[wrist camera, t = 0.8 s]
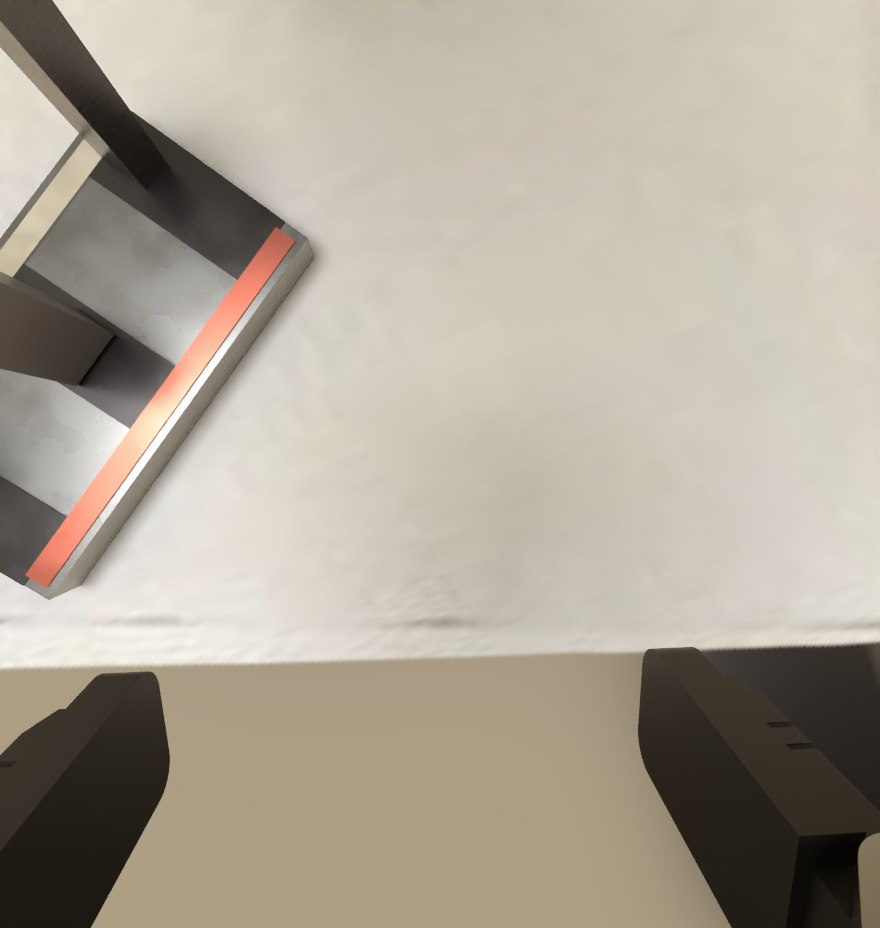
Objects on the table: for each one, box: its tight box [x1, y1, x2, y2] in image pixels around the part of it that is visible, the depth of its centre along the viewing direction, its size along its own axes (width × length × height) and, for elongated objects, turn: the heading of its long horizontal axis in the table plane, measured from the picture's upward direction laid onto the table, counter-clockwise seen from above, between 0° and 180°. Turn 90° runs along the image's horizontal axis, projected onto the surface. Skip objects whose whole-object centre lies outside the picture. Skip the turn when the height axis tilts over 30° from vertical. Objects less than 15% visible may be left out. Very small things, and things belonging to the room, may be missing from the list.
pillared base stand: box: [0, 0, 313, 600], centre depth 24 cm, size 12×23×15 cm, turn 145°
